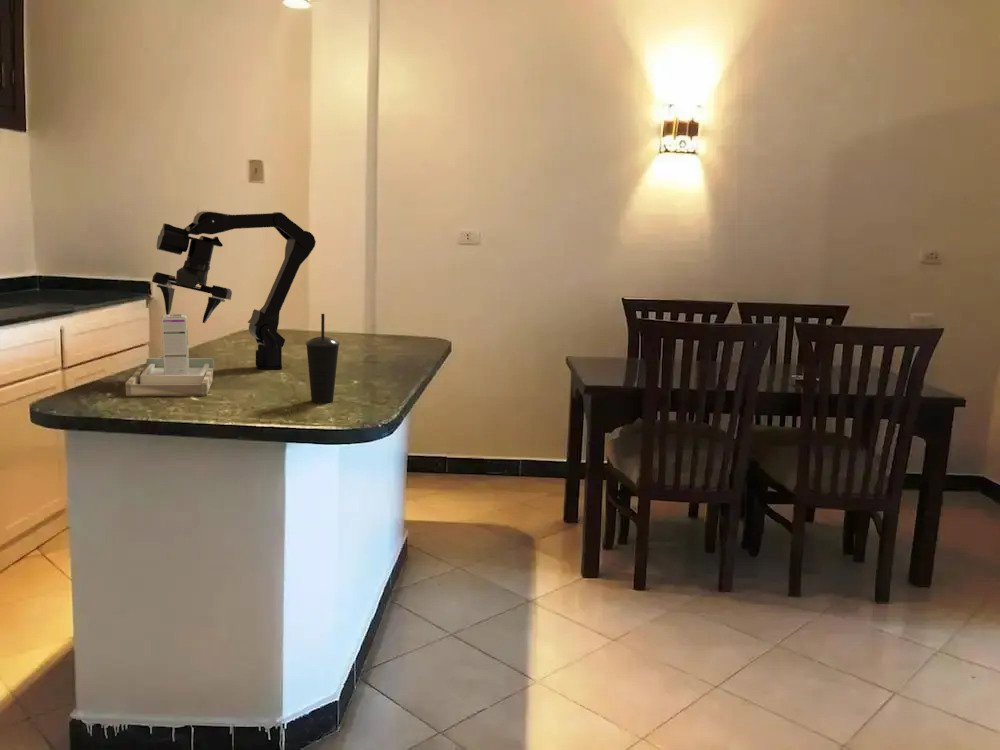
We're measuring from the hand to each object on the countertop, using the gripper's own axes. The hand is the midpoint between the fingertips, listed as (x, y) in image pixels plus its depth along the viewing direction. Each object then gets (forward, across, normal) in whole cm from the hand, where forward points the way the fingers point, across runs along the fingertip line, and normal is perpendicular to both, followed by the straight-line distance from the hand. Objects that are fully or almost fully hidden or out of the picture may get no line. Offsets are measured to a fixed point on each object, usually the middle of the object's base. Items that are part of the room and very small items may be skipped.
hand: (185, 318), depth 212 cm
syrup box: (+14, +4, -11) cm, 18 cm away
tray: (+15, +4, -9) cm, 18 cm away
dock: (+16, +5, -18) cm, 25 cm away
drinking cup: (+10, +41, -28) cm, 51 cm away
